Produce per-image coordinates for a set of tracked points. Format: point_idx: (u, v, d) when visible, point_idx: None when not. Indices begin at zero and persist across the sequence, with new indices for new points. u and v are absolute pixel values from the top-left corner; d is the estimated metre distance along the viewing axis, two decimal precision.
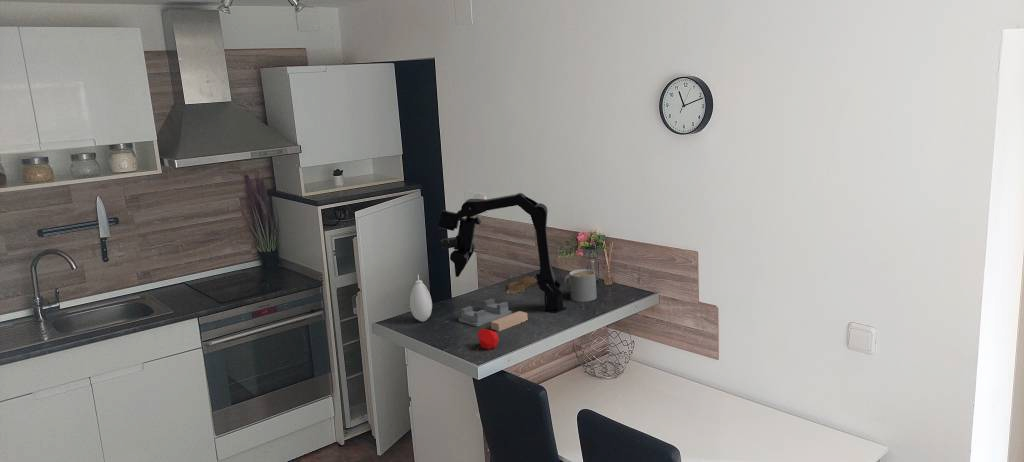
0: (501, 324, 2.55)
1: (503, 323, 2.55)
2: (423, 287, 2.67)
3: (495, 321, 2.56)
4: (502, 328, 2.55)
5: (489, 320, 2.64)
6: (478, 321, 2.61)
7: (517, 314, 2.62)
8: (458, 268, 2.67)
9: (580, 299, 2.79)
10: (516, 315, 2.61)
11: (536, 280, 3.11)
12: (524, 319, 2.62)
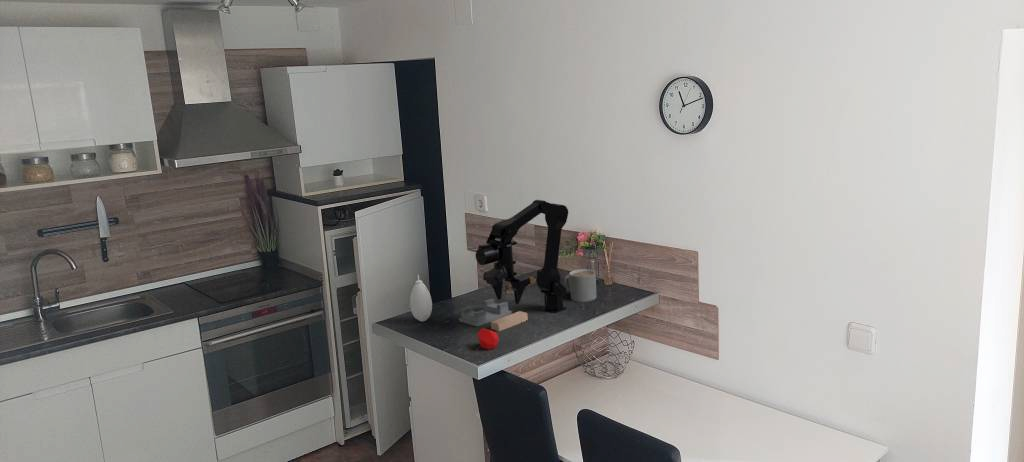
0: (501, 324, 2.55)
1: (503, 323, 2.55)
2: (423, 287, 2.67)
3: (495, 321, 2.56)
4: (502, 328, 2.55)
5: (489, 320, 2.64)
6: (478, 321, 2.61)
7: (517, 314, 2.62)
8: (519, 294, 2.54)
9: (580, 299, 2.79)
10: (516, 315, 2.61)
11: None
12: (524, 319, 2.62)
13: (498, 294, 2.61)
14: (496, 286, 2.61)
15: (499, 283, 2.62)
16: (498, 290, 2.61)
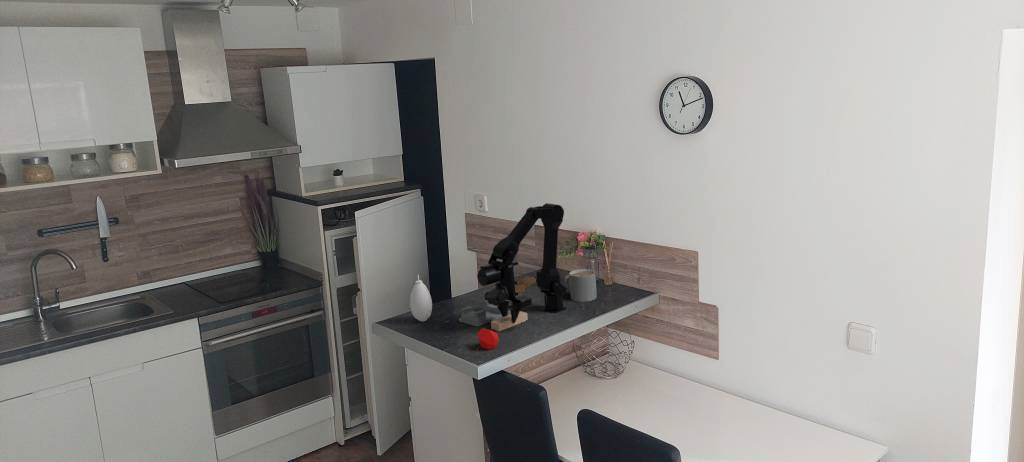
0: (501, 324, 2.55)
1: (503, 323, 2.55)
2: (423, 287, 2.67)
3: (495, 321, 2.56)
4: (502, 328, 2.55)
5: (489, 320, 2.64)
6: (478, 321, 2.61)
7: None
8: (515, 313, 2.57)
9: (580, 299, 2.79)
10: None
11: None
12: (524, 319, 2.62)
13: (504, 315, 2.61)
14: (502, 307, 2.60)
15: (505, 304, 2.61)
16: (504, 311, 2.61)
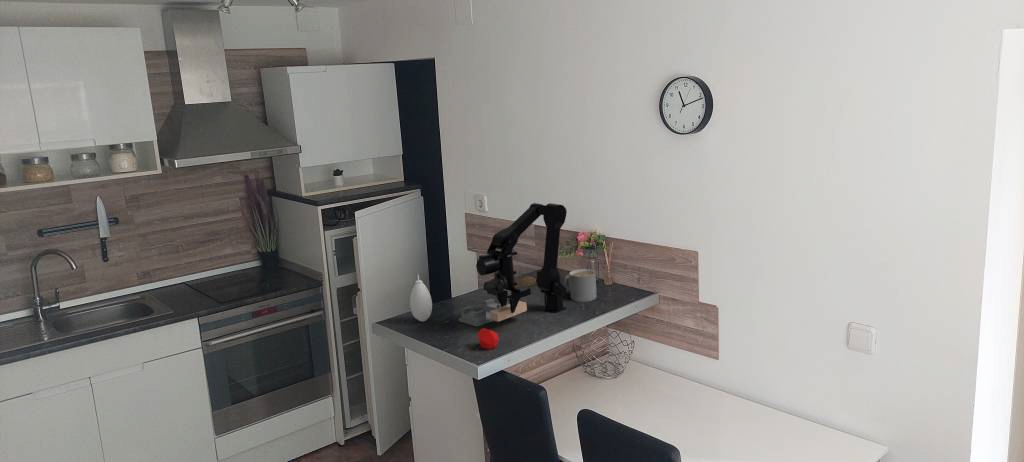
0: (500, 313, 2.54)
1: (502, 312, 2.54)
2: (423, 287, 2.67)
3: (494, 311, 2.56)
4: (501, 317, 2.54)
5: (489, 320, 2.64)
6: (478, 321, 2.61)
7: None
8: (514, 303, 2.56)
9: (580, 299, 2.79)
10: None
11: None
12: (523, 309, 2.62)
13: (503, 305, 2.60)
14: (501, 297, 2.59)
15: (504, 294, 2.60)
16: (503, 301, 2.60)
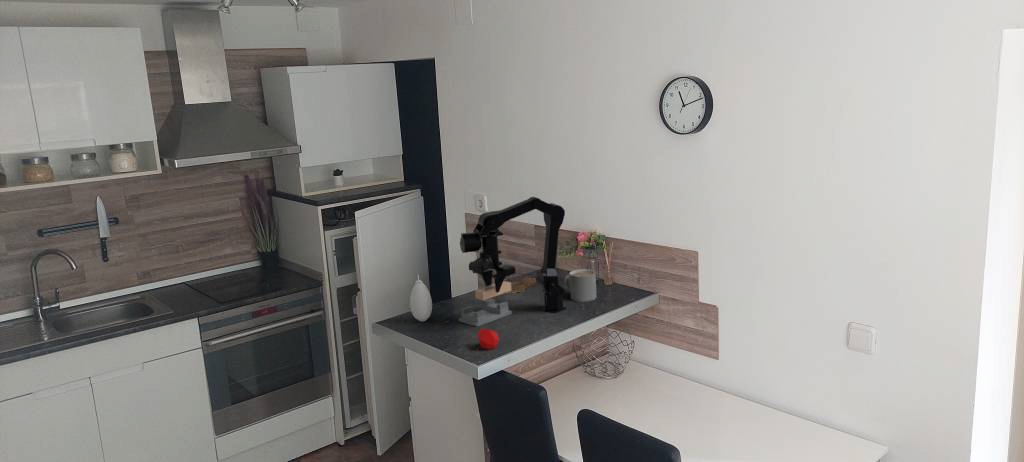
0: (485, 292, 2.57)
1: (487, 291, 2.58)
2: (423, 287, 2.67)
3: (479, 290, 2.59)
4: (486, 296, 2.58)
5: (489, 320, 2.64)
6: (478, 321, 2.61)
7: None
8: (499, 282, 2.60)
9: (580, 299, 2.79)
10: None
11: None
12: (508, 289, 2.65)
13: (488, 285, 2.63)
14: (486, 277, 2.63)
15: (489, 274, 2.64)
16: (488, 281, 2.64)
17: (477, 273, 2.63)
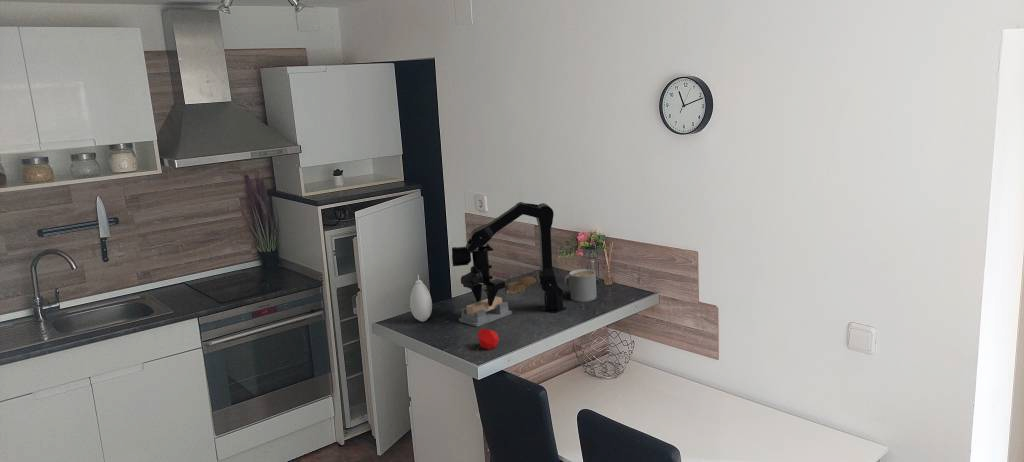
0: (476, 308, 2.63)
1: (478, 307, 2.64)
2: (423, 287, 2.67)
3: (470, 305, 2.65)
4: None
5: (489, 320, 2.64)
6: (478, 321, 2.61)
7: None
8: (492, 297, 2.65)
9: (580, 299, 2.79)
10: None
11: (536, 280, 3.11)
12: None
13: (477, 298, 2.70)
14: (475, 290, 2.70)
15: (478, 287, 2.71)
16: (477, 294, 2.70)
17: None
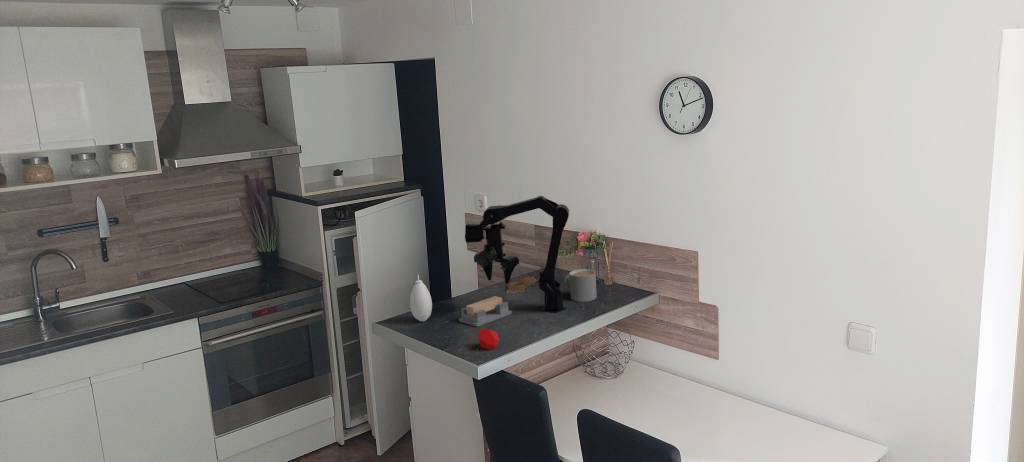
0: (476, 308, 2.63)
1: (478, 307, 2.64)
2: (423, 287, 2.67)
3: (470, 305, 2.65)
4: None
5: (489, 320, 2.64)
6: (478, 321, 2.61)
7: (492, 299, 2.71)
8: (508, 274, 2.68)
9: (580, 299, 2.79)
10: (491, 300, 2.70)
11: (536, 280, 3.11)
12: None
13: (488, 275, 2.75)
14: (486, 267, 2.74)
15: (489, 264, 2.75)
16: (488, 271, 2.75)
17: (478, 264, 2.74)
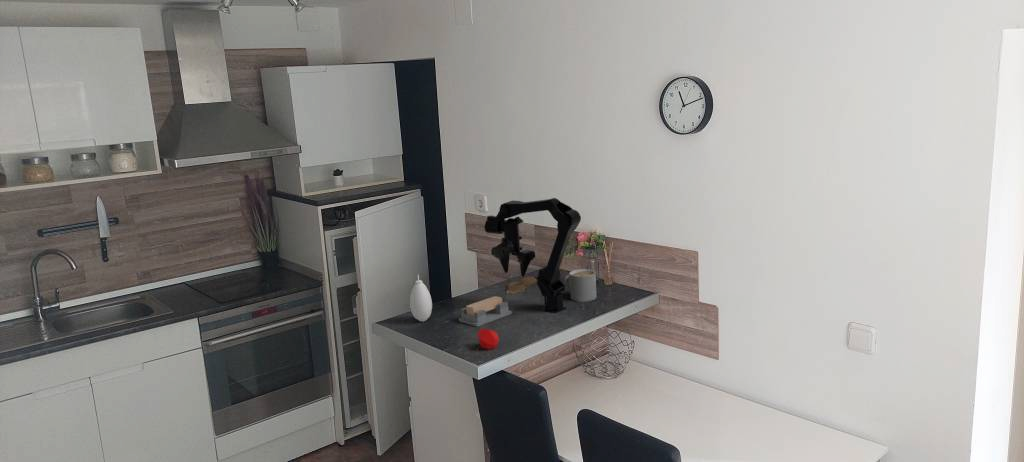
0: (476, 308, 2.63)
1: (478, 307, 2.64)
2: (423, 287, 2.67)
3: (470, 305, 2.65)
4: None
5: (489, 320, 2.64)
6: (478, 321, 2.61)
7: (492, 299, 2.71)
8: (524, 267, 2.74)
9: (580, 299, 2.79)
10: (491, 300, 2.70)
11: (536, 280, 3.11)
12: None
13: (505, 268, 2.81)
14: (503, 260, 2.81)
15: (506, 257, 2.82)
16: (505, 264, 2.82)
17: None
